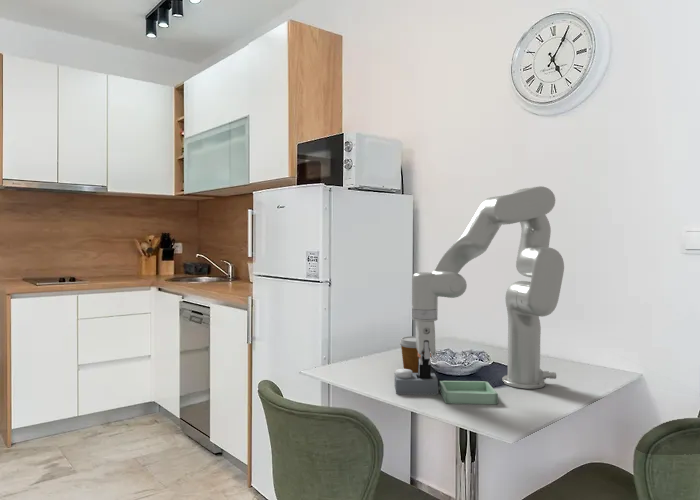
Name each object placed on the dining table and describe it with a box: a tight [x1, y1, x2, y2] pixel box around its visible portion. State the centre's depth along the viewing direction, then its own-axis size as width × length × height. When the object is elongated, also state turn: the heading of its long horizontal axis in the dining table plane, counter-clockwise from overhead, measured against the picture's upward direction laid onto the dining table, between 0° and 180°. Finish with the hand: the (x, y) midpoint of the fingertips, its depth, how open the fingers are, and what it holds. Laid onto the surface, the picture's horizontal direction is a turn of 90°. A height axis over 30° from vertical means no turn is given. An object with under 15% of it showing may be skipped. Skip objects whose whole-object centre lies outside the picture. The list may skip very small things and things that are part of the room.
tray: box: [438, 380, 499, 405], centre depth 145 cm, size 14×12×3 cm
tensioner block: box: [394, 368, 439, 395], centre depth 152 cm, size 12×8×6 cm, turn 88°
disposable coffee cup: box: [399, 335, 419, 373], centre depth 167 cm, size 10×10×12 cm
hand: (424, 375), depth 151 cm, fingers closed on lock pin, 3 cm apart
